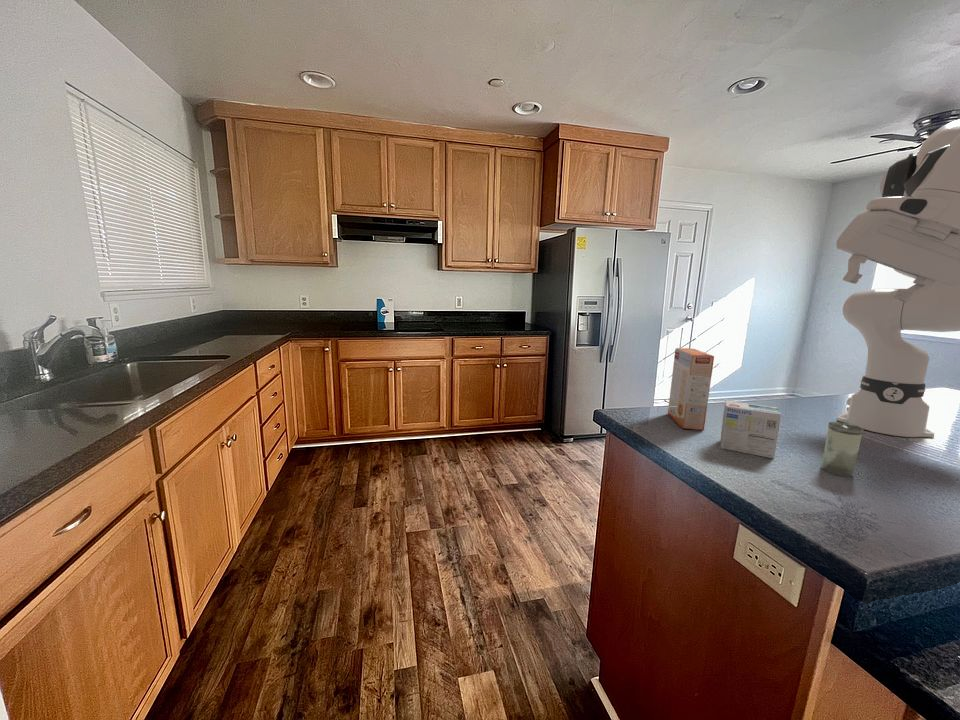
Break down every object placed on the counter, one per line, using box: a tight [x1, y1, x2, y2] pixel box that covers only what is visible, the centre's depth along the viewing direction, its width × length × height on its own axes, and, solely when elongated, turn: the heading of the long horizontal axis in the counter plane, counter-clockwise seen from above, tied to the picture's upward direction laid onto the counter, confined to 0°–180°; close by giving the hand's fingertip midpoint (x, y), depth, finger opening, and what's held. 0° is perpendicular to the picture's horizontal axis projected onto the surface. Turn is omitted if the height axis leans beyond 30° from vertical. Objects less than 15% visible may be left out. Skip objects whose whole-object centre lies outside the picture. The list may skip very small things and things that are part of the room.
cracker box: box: [667, 347, 715, 431], centre depth 106 cm, size 14×6×21 cm, turn 168°
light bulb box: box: [719, 400, 782, 459], centre depth 88 cm, size 11×7×11 cm, turn 58°
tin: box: [820, 421, 865, 478], centre depth 78 cm, size 5×5×10 cm
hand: (874, 291), depth 69 cm, fingers open, 8 cm apart
